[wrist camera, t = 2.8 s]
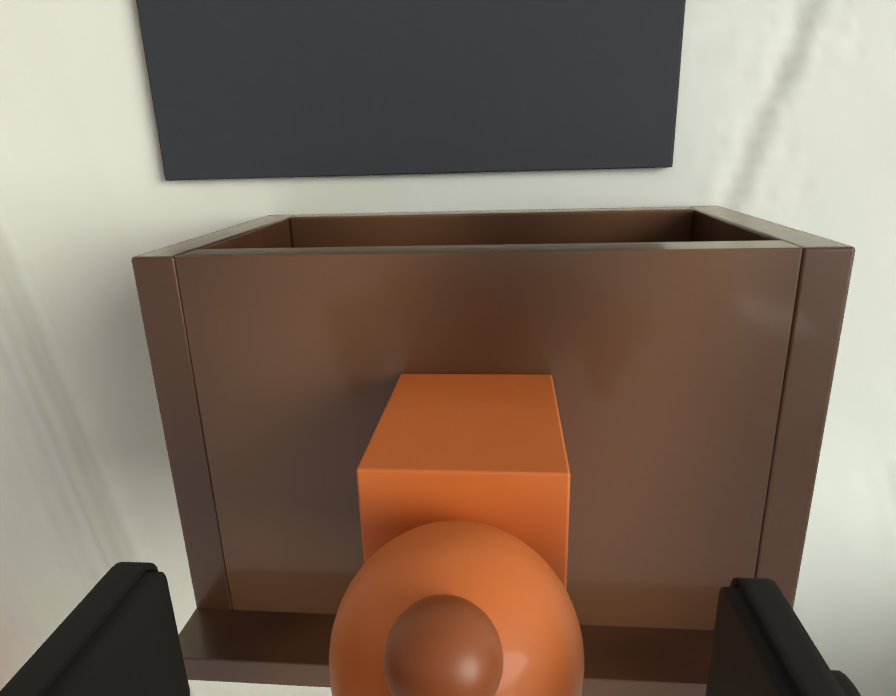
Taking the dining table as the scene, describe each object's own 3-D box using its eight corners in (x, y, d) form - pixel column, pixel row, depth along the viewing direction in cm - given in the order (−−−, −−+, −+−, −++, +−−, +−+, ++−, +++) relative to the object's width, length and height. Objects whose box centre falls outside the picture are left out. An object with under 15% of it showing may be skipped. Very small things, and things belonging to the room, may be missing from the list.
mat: (697, -184, 20) (700, -190, 20) (669, 166, 24) (672, 167, 23) (118, -139, 22) (112, -143, 22) (170, 180, 26) (165, 180, 25)
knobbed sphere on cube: (555, 373, 16) (615, 665, 7) (552, 525, 18) (598, 930, 9) (396, 372, 17) (263, 649, 8) (405, 521, 18) (301, 904, 9)
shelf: (720, 205, 24) (909, 262, 13) (691, 480, 28) (818, 714, 16) (268, 214, 26) (80, 271, 14) (298, 472, 29) (167, 679, 18)
